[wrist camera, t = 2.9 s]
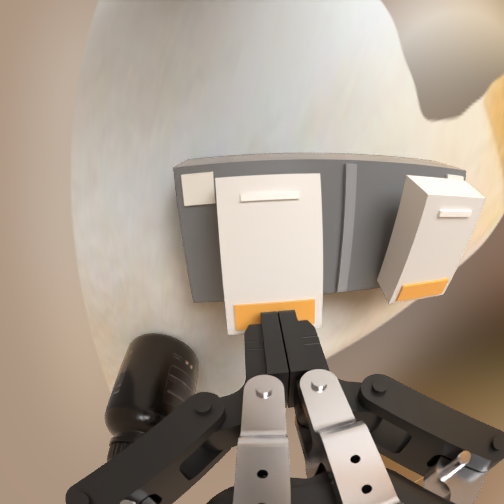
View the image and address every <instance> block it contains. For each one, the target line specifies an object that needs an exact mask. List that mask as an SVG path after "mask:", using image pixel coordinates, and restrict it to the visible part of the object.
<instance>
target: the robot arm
mask: <svg viewBox="0 0 504 504" xmlns="http://www.w3.org/2000/svg"><path fill="white" fill-rule="evenodd" d="M260 321H261V324H252V325H249V326H248V327H247V329H246V331H245V333H244V335H245V365H246V380H245V383H244V385H243V387H242V388H241V389H240V390H238V391H237V392H235V393H233V394H231V395H228V396H224V397H221V398H219V397H218V396H217V395H215V394H212V393H208V392H201V393H197V394H194V395H192V396H191V397H189V398H188V399H187V400H186V401H184V402H183V403H182V404H181V405H180V406H178V407H177V408H176V409H175V410H174V411H172V412H171V413H170V414H169V415H168V416H166V417H165V418H164V419H163V420H162V421H160V422H159V423H158V424H157V425H155V426H154V427H153V428H152V429H150V430H149V431H148V432H147V433H145V434H144V435H143V436H141V437H140V438H139V439H138V440H136V441H135V442H134V443H132V444H131V445H130V446H128V447H127V448H126V449H124V450H123V451H122V452H120V453H119V454H118V455H116V456H115V457H114V458H112V459H111V460H109V461H108V462H107V463H105V464H104V465H102V466H101V467H100V468H98V469H97V470H95V471H94V472H92V473H91V474H89V475H88V476H87V477H85V478H84V479H82V480H81V481H79V482H78V483H76V484H74V485H73V486H72V487H70V488H69V490H68V491H67V493H66V504H172V503H173V502H175V501H176V500H177V499H178V498H179V497H180V496H182V495H183V494H184V493H185V492H186V491H187V490H189V489H190V488H191V487H192V486H193V485H194V484H195V483H196V482H197V481H198V480H200V479H201V478H202V477H203V476H204V475H205V474H206V473H207V472H208V471H209V470H210V469H211V468H212V467H213V466H214V465H215V464H216V463H217V462H218V461H219V460H220V459H221V458H222V457H223V456H224V455H225V454H226V453H227V452H228V451H229V450H230V449H231V447H234V446H237V457H236V470H235V484H234V486H233V487H230V488H228V489H226V490H224V491H222V492H220V493H219V494H217V495H216V496H214V497H213V498H212V499H211V500H210V501H209V502H208V503H207V504H474V502H475V500H476V498H477V495H478V494H479V492H480V489H481V487H482V485H483V483H484V481H485V478H486V476H487V473H488V471H489V470H490V469H491V468H492V467H494V466H495V465H496V464H497V463H499V462H500V461H501V460H502V459H503V458H504V432H503V431H501V430H499V429H496V428H494V427H492V426H489V425H487V424H485V423H483V422H480V421H478V420H476V419H474V418H471V417H469V416H467V415H465V414H463V413H461V412H459V411H456V410H454V409H452V408H450V407H448V406H446V405H444V404H442V403H440V402H438V401H435V400H433V399H431V398H429V397H427V396H425V395H423V394H421V393H419V392H417V391H415V390H413V389H411V388H409V387H407V386H405V385H403V384H402V383H400V382H398V381H396V380H394V379H392V378H390V377H388V376H386V375H382V374H374V375H370V376H368V377H367V378H365V379H364V381H363V382H362V383H358V382H347V381H343V380H340V379H338V378H337V377H336V376H335V375H334V374H333V373H331V372H330V370H329V368H328V365H327V362H326V359H325V356H324V353H323V350H322V347H321V344H320V341H319V338H318V337H317V333H316V330H315V327H314V326H313V325H312V324H311V323H310V322H309V321H308V320H300V321H298V319H297V316H296V312H295V310H284V311H278V314H277V311H273V312H260ZM286 405H288V408H290V407H294V408H295V414H296V417H295V425H296V429H297V432H298V436H299V440H300V443H301V447H302V451H303V454H304V458H305V464H306V475H307V479H301V478H290V465H289V444H288V436H287V431H286V411H285V408H286ZM379 453H380V454H382V455H384V456H386V457H388V458H389V459H391V460H393V461H395V462H397V463H399V464H400V465H402V466H404V467H406V468H408V469H410V470H412V471H414V472H416V473H418V474H420V475H422V476H424V479H423V481H424V488H423V487H421V486H420V485H418V484H416V483H414V482H412V481H411V480H409V479H407V478H405V477H404V476H402V475H400V474H398V473H397V472H395V471H393V470H390V469H388V468H385V466H384V464H383V462H382V459H381V457H380V455H379Z"/></svg>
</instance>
